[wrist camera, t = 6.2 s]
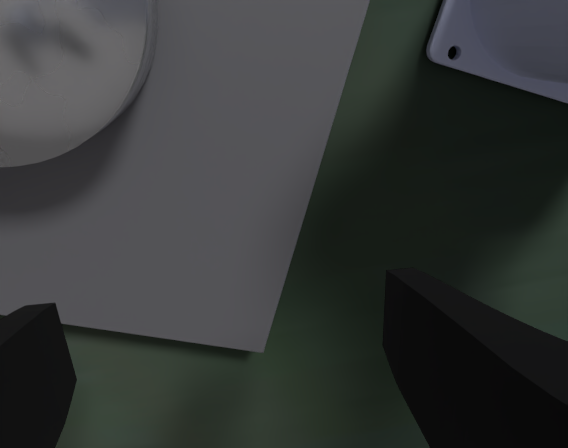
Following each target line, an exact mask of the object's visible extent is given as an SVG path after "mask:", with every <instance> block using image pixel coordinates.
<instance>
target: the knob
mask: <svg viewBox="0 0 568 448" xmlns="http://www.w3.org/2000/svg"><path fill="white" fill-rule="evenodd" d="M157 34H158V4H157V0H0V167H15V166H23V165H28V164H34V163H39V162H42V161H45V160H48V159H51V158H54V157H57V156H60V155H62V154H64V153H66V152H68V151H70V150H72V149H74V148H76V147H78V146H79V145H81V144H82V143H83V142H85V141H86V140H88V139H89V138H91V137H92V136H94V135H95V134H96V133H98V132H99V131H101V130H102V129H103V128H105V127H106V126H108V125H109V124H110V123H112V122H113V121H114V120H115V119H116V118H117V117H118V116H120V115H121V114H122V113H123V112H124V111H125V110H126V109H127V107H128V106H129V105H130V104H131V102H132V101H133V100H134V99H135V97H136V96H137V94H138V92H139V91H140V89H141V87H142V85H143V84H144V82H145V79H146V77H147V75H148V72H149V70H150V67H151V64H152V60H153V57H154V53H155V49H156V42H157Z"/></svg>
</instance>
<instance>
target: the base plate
mask: <svg viewBox="0 0 568 448" xmlns="http://www.w3.org/2000/svg"><path fill="white" fill-rule="evenodd" d="M369 2H370V0H157V4H158V34H157V42H156V49H155V53H154V57H153V60H152V64H151V67H150V70H149V72H148V75H147V77H146V79H145V82H144V84H143V85H142V87H141V89H140V91H139V92H138V94H137V96H136V97H135V99H134V100H133V101H132V102H131V104H130V105H129V106H128V107H127V109H126V110H125V111H124V112H123V113H122V114H121V115H120V116H118V117H117V118H116V119H115V120H114V121H113V122H112V123H110V124H109V125H108V126H106V127H105V128H103V129H102V130H101V131H99V132H98V133H96V134H95V135H94V136H92V137H91V138H89V139H88V140H86V141H85V142H83V143H82V144H81V145H79V146H78V147H76V148H74V149H72V150H70V151H68V152H66V153H64V154H62V155H60V156H57V157H54V158H51V159H48V160H45V161H42V162H39V163H34V164H28V165H23V166H15V167H0V315H6V316H7V315H8V314H10V313H12V312H14V311H15V310H17V309H19V308H21V307H23V306H25V305H35V304H45V303H56V307H57V310H58V314H59V317H60V321H61V324H68V325H75V326H82V327H89V328H96V329H102V330H109V331H116V332H123V333H130V334H137V335H144V336H150V337H157V338H164V339H171V340H178V341H185V342H192V343H199V344H205V345H212V346H219V347H226V348H233V349H240V350H247V351H253V352H260V353H263V352H264V348H265V345H266V342H267V338H268V335H269V332H270V328H271V325H272V322H273V319H274V315H275V312H276V309H277V305H278V302H279V299H280V295H281V292H282V289H283V286H284V282H285V279H286V276H287V272H288V269H289V266H290V262H291V259H292V256H293V253H294V249H295V246H296V243H297V239H298V236H299V233H300V229H301V226H302V223H303V220H304V216H305V213H306V210H307V206H308V203H309V200H310V196H311V193H312V190H313V187H314V183H315V180H316V177H317V173H318V170H319V167H320V163H321V160H322V157H323V154H324V150H325V147H326V144H327V140H328V137H329V134H330V130H331V127H332V124H333V121H334V117H335V114H336V111H337V107H338V104H339V101H340V97H341V94H342V91H343V88H344V84H345V81H346V78H347V74H348V71H349V68H350V64H351V61H352V58H353V55H354V51H355V48H356V45H357V41H358V38H359V35H360V31H361V28H362V25H363V21H364V18H365V15H366V12H367V8H368V5H369Z"/></svg>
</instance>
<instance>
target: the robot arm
mask: <svg viewBox="0 0 568 448" xmlns="http://www.w3.org/2000/svg"><path fill="white" fill-rule="evenodd" d="M452 46H454V47H455V48H456V55H455V57H454V58H453V59H449V57H448V51H449V49H450V47H452ZM426 53H427V57H428V58H429V59H430V60H431V61H432V62H434V63H437V64H441V65H444V66H447V67H450V68H454V69H457V70H460V71H463V72H467V73H470V74H473V75H476V76H480V77H483V78H486V79H489V80H493V81H496V82H499V83H502V84H506V85H509V86H512V87H515V88H519V89H522V90H525V91H528V92H532V93H535V94H538V95H541V96H545V97H548V98H551V99H554V100H558V101H561V102H564V103H567V104H568V0H443V2H442V5H441V8H440V10H439V13H438V16H437V19H436V22H435V25H434V27H433V30H432V33H431V36H430V39H429V42H428V44H427V49H426ZM383 348H384V350H385V353H386V356H387V359H388V362H389V365H390V367H391V370H392V373H393V375H394V378H395V380H396V383H397V385H398V387H399V389H400V391H401V393H402V395H403V397H404V399H405V401H406V403H407V405H408V407H409V408H410V410H411V412H412V414H413V416H414V418H415V420H416V422H417V424H418V426H419V427H420V429H421V431H422V433H423V435H424V437H425V439H426V441H427V442H428V444H429V446H430V448H568V341H565V340H562V339H560V338H557V337H555V336H553V335H550V334H548V333H545V332H543V331H541V330H538V329H536V328H534V327H532V326H530V325H527V324H525V323H523V322H521V321H519V320H516V319H514V318H512V317H510V316H508V315H506V314H504V313H502V312H500V311H498V310H495V309H493V308H491V307H489V306H487V305H485V304H483V303H482V302H480V301H478V300H476V299H474V298H472V297H470V296H468V295H466V294H464V293H462V292H460V291H458V290H457V289H455V288H453V287H451V286H449V285H447V284H445V283H443V282H441V281H440V280H438V279H436V278H434V277H432V276H430V275H428V274H426V273H424V272H421V271H419V270H417V269H414V268H404V269H394V270H386V286H385V306H384V326H383ZM76 381H77V378H76V375H75V371H74V368H73V364H72V360H71V357H70V353H69V350H68V346H67V343H66V339H65V335H64V332H63V328H62V325H61V321H60V317H59V314H58V310H57V307H56V303H45V304H35V305H25V306H23V307H21V308H19V309H17V310H15V311H14V312H12V313H10V314H8V315H7V316H5V317H3V318H2V319H0V448H55V446H56V444H57V441H58V439H59V437H60V434H61V432H62V429H63V427H64V424H65V421H66V418H67V414H68V411H69V407H70V404H71V400H72V396H73V392H74V388H75V384H76Z"/></svg>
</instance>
